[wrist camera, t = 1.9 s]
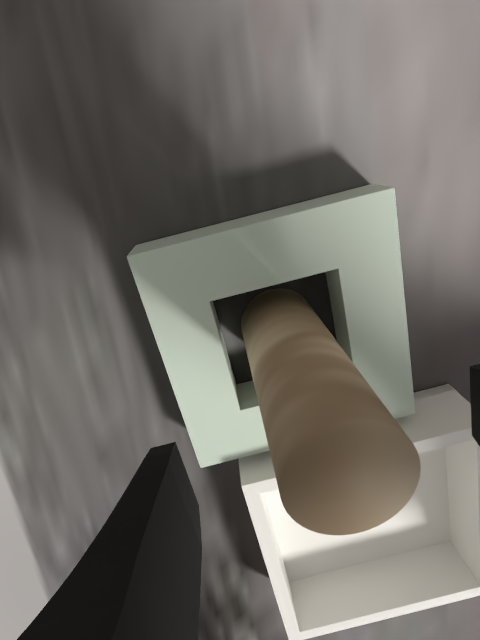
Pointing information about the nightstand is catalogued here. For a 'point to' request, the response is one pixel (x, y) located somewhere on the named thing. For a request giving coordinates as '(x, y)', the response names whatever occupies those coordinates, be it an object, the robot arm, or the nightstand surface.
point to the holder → (266, 270)
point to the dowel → (324, 422)
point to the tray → (380, 534)
